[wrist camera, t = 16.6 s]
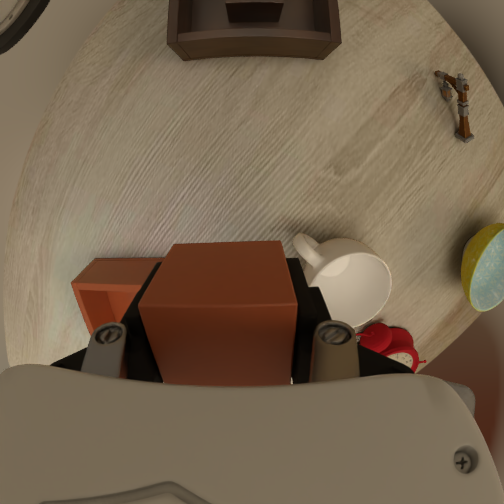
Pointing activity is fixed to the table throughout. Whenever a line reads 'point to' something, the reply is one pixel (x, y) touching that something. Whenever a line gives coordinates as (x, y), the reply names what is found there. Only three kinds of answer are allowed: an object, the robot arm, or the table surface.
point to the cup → (346, 277)
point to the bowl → (484, 268)
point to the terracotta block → (222, 314)
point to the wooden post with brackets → (462, 100)
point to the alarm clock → (391, 344)
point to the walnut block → (254, 10)
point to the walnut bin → (253, 31)
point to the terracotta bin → (110, 288)
